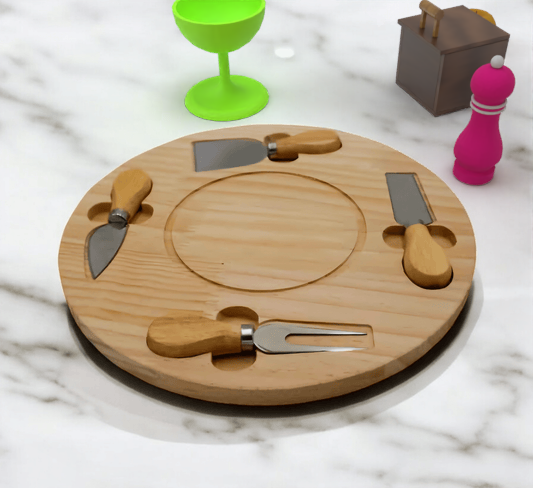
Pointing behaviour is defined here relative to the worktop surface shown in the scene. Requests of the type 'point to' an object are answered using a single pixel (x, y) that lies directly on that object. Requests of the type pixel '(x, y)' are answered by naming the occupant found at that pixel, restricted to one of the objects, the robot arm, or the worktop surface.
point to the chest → (441, 73)
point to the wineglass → (222, 55)
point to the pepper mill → (483, 124)
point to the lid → (451, 28)
